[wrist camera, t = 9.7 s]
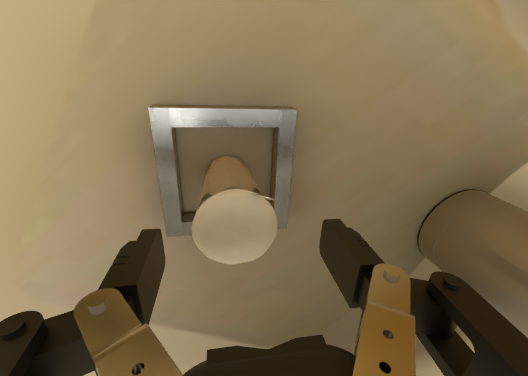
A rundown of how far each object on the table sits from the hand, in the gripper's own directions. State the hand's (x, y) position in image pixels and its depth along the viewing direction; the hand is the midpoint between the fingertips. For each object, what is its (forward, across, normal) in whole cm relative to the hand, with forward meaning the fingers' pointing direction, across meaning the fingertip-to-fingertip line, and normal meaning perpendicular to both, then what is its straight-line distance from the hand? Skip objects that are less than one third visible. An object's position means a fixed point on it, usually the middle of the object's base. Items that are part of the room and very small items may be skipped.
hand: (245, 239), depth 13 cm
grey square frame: (+9, +1, 0) cm, 9 cm away
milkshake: (+9, 0, 0) cm, 9 cm away
